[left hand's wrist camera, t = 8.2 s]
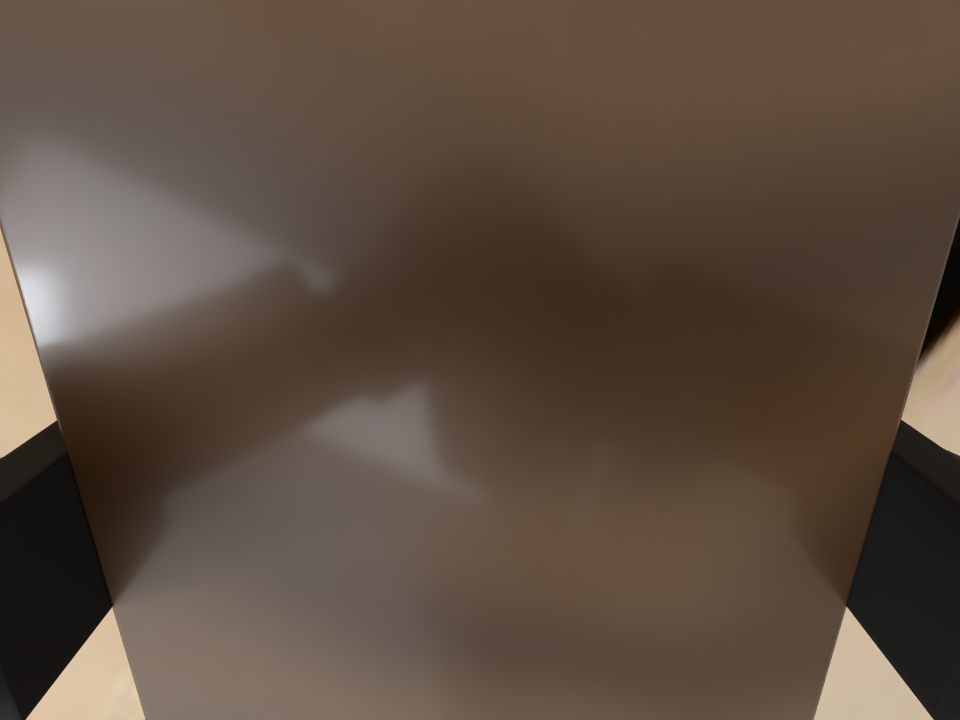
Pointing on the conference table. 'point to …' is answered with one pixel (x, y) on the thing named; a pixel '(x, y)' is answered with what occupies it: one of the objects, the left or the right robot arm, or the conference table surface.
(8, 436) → the conference table surface
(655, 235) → the cabinet
